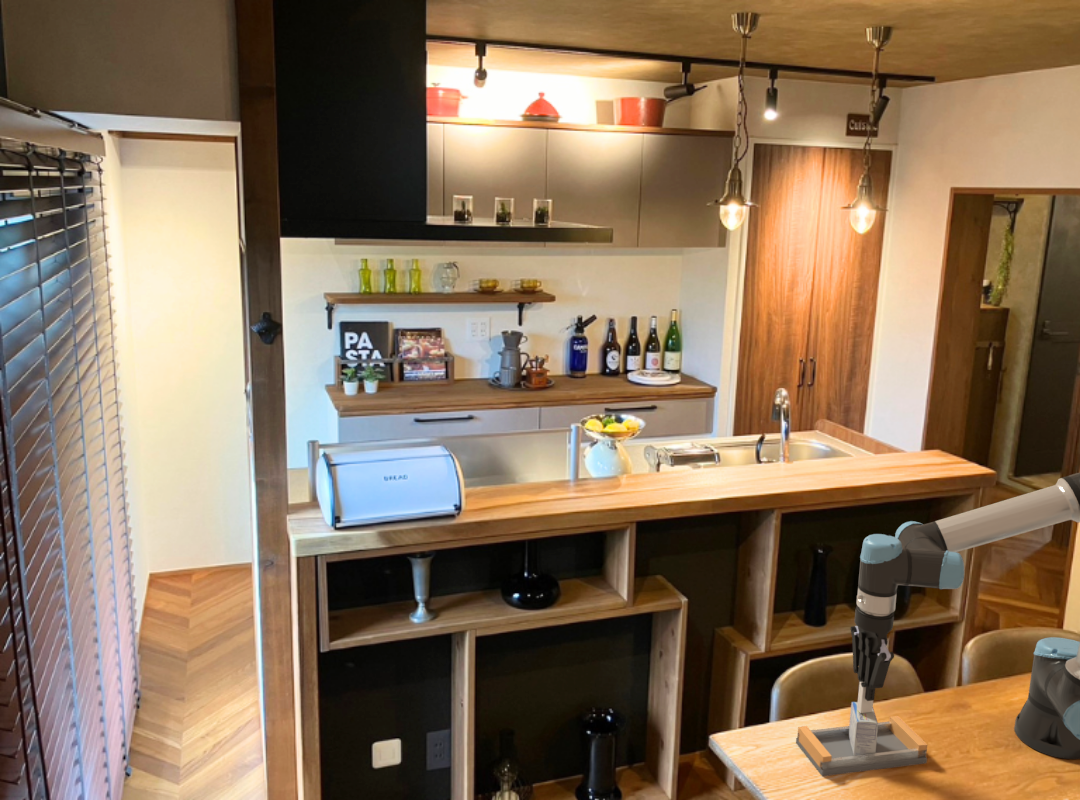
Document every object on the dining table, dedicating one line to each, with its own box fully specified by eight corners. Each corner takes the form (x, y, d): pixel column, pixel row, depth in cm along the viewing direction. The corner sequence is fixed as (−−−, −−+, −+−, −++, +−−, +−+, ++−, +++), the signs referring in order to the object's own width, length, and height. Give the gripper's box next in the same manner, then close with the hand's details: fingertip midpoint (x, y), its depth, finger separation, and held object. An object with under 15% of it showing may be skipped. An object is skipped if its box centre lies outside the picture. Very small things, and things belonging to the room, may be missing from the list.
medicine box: (875, 760, 187) (879, 723, 185) (852, 757, 188) (856, 721, 186) (869, 738, 195) (872, 703, 193) (847, 736, 196) (851, 700, 194)
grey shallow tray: (895, 731, 200) (896, 714, 199) (926, 763, 189) (928, 745, 188) (795, 742, 195) (797, 725, 194) (822, 776, 184) (823, 758, 183)
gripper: (842, 596, 190) (832, 695, 195) (876, 624, 177) (864, 730, 183) (874, 593, 191) (864, 692, 196) (910, 621, 179) (898, 726, 184)
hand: (864, 710), depth 189 cm, fingers closed
